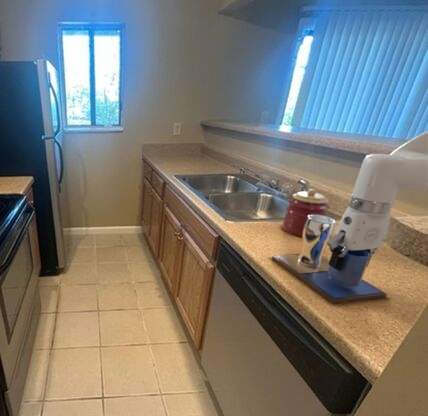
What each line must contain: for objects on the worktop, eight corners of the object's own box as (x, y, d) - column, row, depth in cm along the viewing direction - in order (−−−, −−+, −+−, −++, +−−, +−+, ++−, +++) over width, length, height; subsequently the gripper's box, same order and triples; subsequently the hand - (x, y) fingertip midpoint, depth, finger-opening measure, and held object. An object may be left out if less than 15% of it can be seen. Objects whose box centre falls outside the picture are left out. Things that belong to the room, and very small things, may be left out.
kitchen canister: (286, 236, 106) (297, 192, 100) (278, 222, 117) (287, 183, 111) (326, 240, 102) (341, 195, 96) (314, 226, 114) (325, 185, 107)
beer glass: (322, 271, 82) (337, 225, 76) (294, 263, 86) (306, 219, 80) (322, 260, 87) (336, 217, 82) (296, 254, 91) (307, 212, 85)
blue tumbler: (341, 270, 79) (351, 243, 76) (366, 285, 73) (378, 256, 70) (320, 272, 78) (329, 245, 75) (343, 288, 72) (354, 258, 69)
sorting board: (314, 254, 93) (315, 251, 92) (385, 297, 73) (387, 293, 72) (271, 259, 91) (272, 255, 90) (332, 303, 71) (333, 299, 70)
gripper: (353, 213, 63) (331, 277, 70) (417, 208, 65) (390, 271, 72) (324, 202, 70) (307, 261, 77) (383, 198, 72) (361, 256, 79)
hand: (347, 265), depth 74 cm, fingers closed on blue tumbler, 7 cm apart
